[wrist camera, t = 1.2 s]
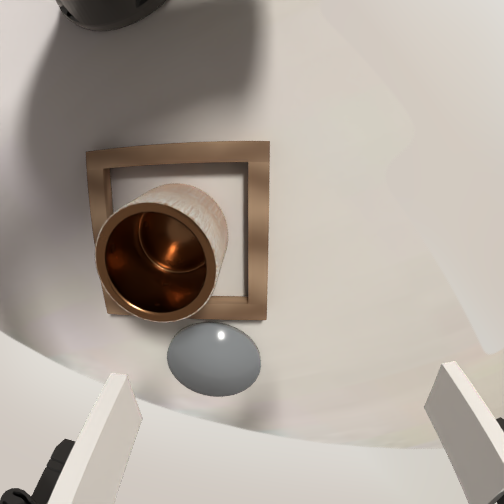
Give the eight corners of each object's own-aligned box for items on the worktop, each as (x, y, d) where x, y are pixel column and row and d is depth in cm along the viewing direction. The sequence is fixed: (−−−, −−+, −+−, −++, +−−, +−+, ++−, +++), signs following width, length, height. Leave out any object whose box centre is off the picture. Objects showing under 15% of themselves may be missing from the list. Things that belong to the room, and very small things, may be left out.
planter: (119, 198, 33) (75, 221, 24) (212, 169, 32) (195, 181, 23) (151, 287, 36) (122, 332, 27) (240, 266, 35) (235, 311, 26)
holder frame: (93, 150, 31) (85, 151, 29) (268, 141, 30) (269, 141, 29) (113, 306, 37) (107, 313, 35) (265, 311, 37) (266, 320, 35)
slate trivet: (162, 319, 38) (161, 323, 37) (261, 322, 37) (261, 326, 37) (175, 389, 42) (173, 393, 41) (259, 393, 42) (259, 397, 41)
